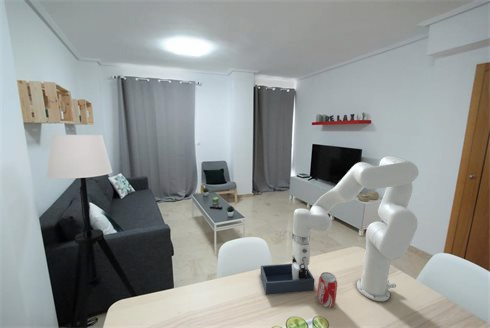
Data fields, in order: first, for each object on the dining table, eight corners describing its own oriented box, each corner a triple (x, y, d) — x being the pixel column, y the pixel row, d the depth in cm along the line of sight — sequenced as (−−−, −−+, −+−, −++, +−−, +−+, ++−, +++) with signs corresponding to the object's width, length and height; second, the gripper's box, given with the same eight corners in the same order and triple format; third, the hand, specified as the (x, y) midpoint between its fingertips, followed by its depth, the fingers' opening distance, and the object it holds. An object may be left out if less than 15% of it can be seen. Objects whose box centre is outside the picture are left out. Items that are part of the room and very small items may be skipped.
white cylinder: (307, 285, 98) (307, 271, 97) (291, 283, 100) (291, 269, 98) (306, 275, 105) (306, 261, 104) (291, 273, 106) (291, 260, 105)
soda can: (313, 298, 93) (315, 273, 91) (326, 293, 96) (328, 269, 94) (325, 311, 87) (328, 285, 85) (338, 306, 90) (342, 280, 87)
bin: (303, 272, 109) (304, 262, 108) (313, 290, 98) (314, 279, 97) (260, 276, 106) (260, 265, 105) (265, 294, 95) (266, 283, 94)
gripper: (317, 247, 90) (314, 285, 94) (301, 226, 107) (299, 259, 110) (300, 248, 89) (297, 286, 93) (286, 227, 106) (284, 260, 110)
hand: (298, 271), depth 102 cm, fingers open, 7 cm apart
